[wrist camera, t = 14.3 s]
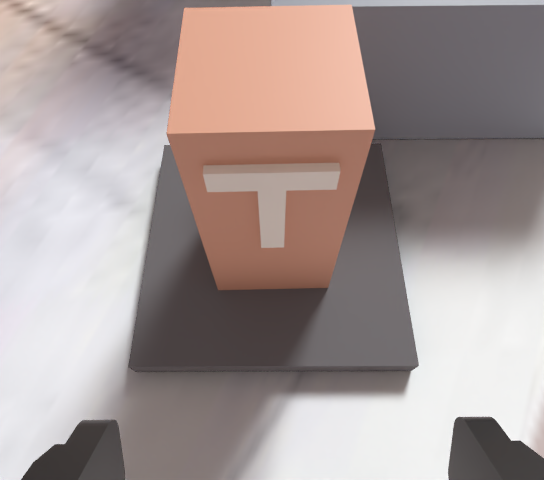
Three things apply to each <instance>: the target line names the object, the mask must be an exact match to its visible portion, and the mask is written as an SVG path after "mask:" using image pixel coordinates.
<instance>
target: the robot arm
mask: <svg viewBox="0 0 544 480" xmlns="http://www.w3.org/2000/svg"><path fill="white" fill-rule="evenodd" d="M448 476H449V480H544V458H542V457H541V456H540V455H538V454H537V453H536V452H534V451H533V450H532V449H530V448H529V447H528V446H526V445H525V444H524V443H522V442H521V441H511V440H510V439H509V437H508V436H507V435H506V433H505V432H504V431H503V429H502V428H501V427H500V425H499V424H498V423H497V422H496V420H495V419H493V418H492V417H458V418H456V420H455V422H454V428H453V436H452V444H451V452H450V460H449V469H448ZM21 480H125V469H124V462H123V455H122V448H121V441H120V433H119V427H118V423H117V421H116V420H83V421H81V422H80V423H79V424H78V425H77V427H76V428H75V430H74V431H73V433H72V434H71V436H70V438H69V439H68V441H67V442H66V444H55V445H54V446H53V447H51V448H50V449H49V450H48V451H47V452H45V453H44V454H43V455H42V456H41V457H39V458H38V459H37V460H36V461H35V462H33V464H32V465H31V466H30V468H29V469H28V471H27V472H26V474H25V475H24V476H23V478H22V479H21Z"/></svg>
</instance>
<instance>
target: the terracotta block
mask: <svg viewBox="0 0 544 480" xmlns="http://www.w3.org/2000/svg"><path fill="white" fill-rule="evenodd" d="M374 132H375V125H374V120H373V114H372V109H371V104H370V99H369V93H368V88H367V83H366V78H365V72H364V67H363V62H362V56H361V51H360V46H359V41H358V35H357V30H356V25H355V20H354V14H353V9H352V5H305V6H253V7H201V8H184V12H183V19H182V26H181V34H180V41H179V48H178V55H177V62H176V69H175V77H174V84H173V91H172V98H171V105H170V112H169V120H168V127H167V137H168V140H169V143H170V146H171V149H172V152H173V155H174V158H175V161H176V164H177V167H178V170H179V173H180V176H181V179H182V182H183V185H184V188H185V191H186V194H187V197H188V200H189V203H190V207H191V210H192V213H193V216H194V219H195V222H196V225H197V228H198V231H199V234H200V237H201V240H202V243H203V246H204V249H205V252H206V255H207V258H208V261H209V264H210V267H211V270H212V273H213V276H214V279H215V282H216V285H217V289H218V290H252V289H299V288H328V287H329V284H330V280H331V277H332V274H333V270H334V267H335V264H336V260H337V257H338V253H339V250H340V247H341V243H342V240H343V237H344V233H345V230H346V227H347V223H348V220H349V216H350V213H351V210H352V206H353V203H354V200H355V196H356V193H357V190H358V186H359V183H360V179H361V176H362V173H363V169H364V166H365V163H366V159H367V156H368V153H369V149H370V146H371V142H372V139H373V136H374Z"/></svg>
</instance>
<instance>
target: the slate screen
mask: <svg viewBox="0 0 544 480" xmlns="http://www.w3.org/2000/svg"><path fill="white" fill-rule="evenodd" d="M305 5H352V9H353V14H354V20H355V25H356V30H357V35H358V41H359V46H360V51H361V56H362V62H363V67H364V72H365V78H366V83H367V88H368V93H369V99H370V104H371V109H372V114H373V120H374V125H375V132H374V136H373V139H483V138H544V0H271V6H305Z"/></svg>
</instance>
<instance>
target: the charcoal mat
mask: <svg viewBox="0 0 544 480" xmlns="http://www.w3.org/2000/svg"><path fill="white" fill-rule="evenodd" d="M418 366H419V364H418V358H417V352H416V347H415V341H414V335H413V329H412V323H411V317H410V312H409V306H408V300H407V294H406V288H405V282H404V276H403V271H402V265H401V259H400V253H399V247H398V241H397V236H396V230H395V224H394V218H393V212H392V206H391V200H390V195H389V189H388V183H387V177H386V171H385V165H384V160H383V154H382V148H381V144H371V146H370V149H369V153H368V156H367V159H366V163H365V166H364V169H363V173H362V176H361V179H360V183H359V186H358V190H357V193H356V196H355V200H354V203H353V206H352V210H351V213H350V216H349V220H348V223H347V227H346V230H345V233H344V237H343V240H342V243H341V247H340V250H339V253H338V257H337V260H336V264H335V267H334V270H333V274H332V277H331V280H330V284H329V287H328V288H299V289H252V290H218V289H217V285H216V282H215V279H214V276H213V273H212V270H211V267H210V264H209V261H208V258H207V255H206V252H205V249H204V246H203V243H202V240H201V237H200V234H199V231H198V228H197V225H196V222H195V219H194V216H193V213H192V210H191V207H190V203H189V200H188V197H187V194H186V191H185V188H184V185H183V182H182V179H181V176H180V173H179V170H178V167H177V164H176V161H175V158H174V155H173V152H172V149H171V146H170V145H164V151H163V158H162V164H161V170H160V176H159V182H158V188H157V194H156V201H155V207H154V213H153V219H152V225H151V231H150V237H149V244H148V250H147V256H146V262H145V268H144V274H143V280H142V287H141V293H140V299H139V305H138V311H137V317H136V324H135V330H134V336H133V342H132V348H131V354H130V360H129V368H131V369H132V370H134V371H135V372H176V371H412V370H413V369H415V368H416V367H418Z"/></svg>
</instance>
